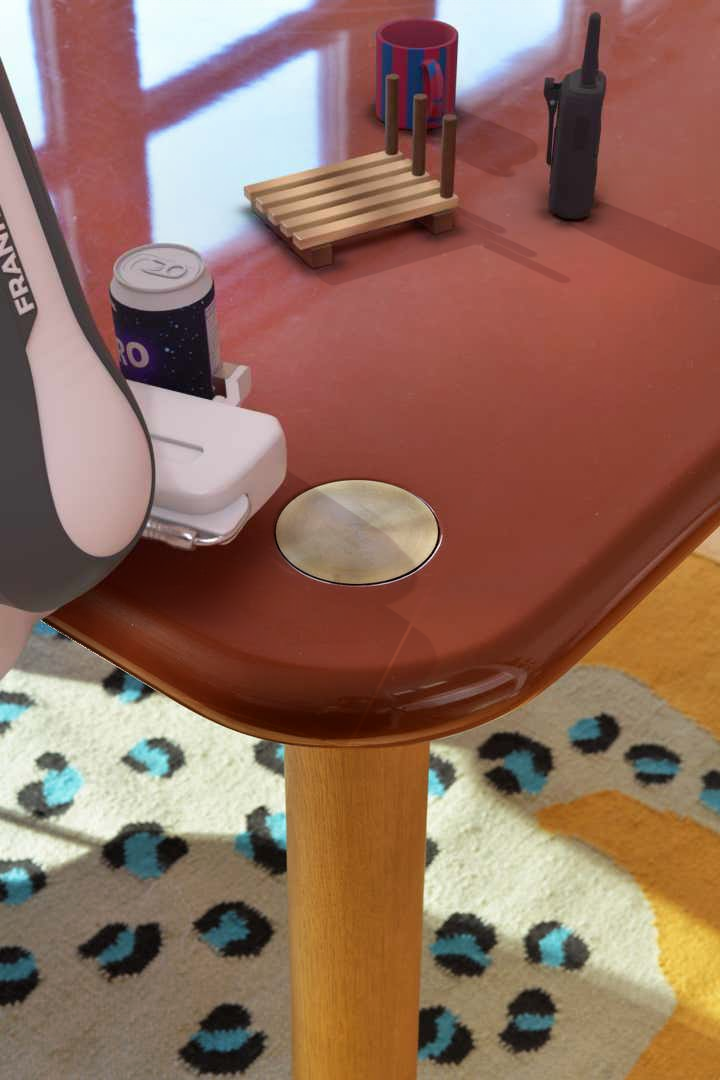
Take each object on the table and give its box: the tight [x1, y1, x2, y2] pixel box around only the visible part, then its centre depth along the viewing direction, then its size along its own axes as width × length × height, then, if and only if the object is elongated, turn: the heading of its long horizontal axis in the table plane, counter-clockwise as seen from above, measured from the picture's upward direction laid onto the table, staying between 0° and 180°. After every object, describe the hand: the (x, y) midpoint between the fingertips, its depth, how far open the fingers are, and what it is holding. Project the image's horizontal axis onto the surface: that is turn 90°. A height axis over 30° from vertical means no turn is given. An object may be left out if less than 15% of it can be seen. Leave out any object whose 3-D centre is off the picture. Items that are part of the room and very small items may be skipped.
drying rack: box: [243, 74, 460, 270], centre depth 98 cm, size 13×10×8 cm
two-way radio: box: [543, 11, 607, 220], centre depth 98 cm, size 6×4×15 cm
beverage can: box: [108, 242, 222, 400], centre depth 77 cm, size 6×6×12 cm
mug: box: [375, 17, 459, 131], centre depth 111 cm, size 7×10×7 cm
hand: (163, 355), depth 76 cm, fingers open, 8 cm apart
